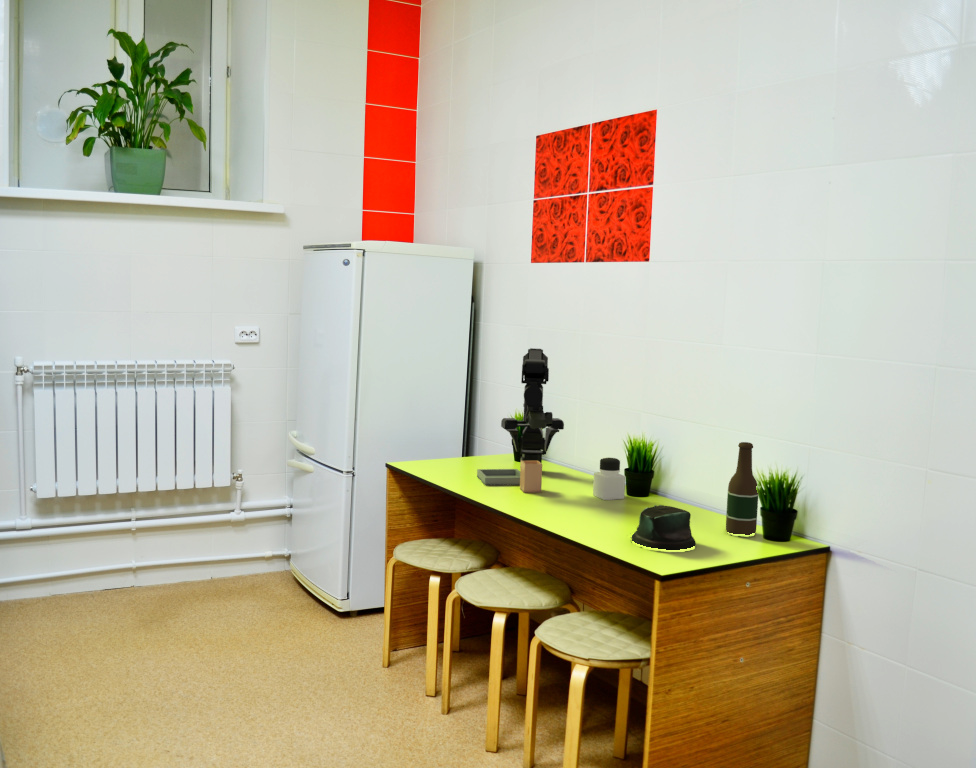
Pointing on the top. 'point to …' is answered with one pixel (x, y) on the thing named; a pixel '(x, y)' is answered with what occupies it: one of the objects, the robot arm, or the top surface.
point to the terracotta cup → (531, 476)
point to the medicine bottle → (609, 480)
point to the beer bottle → (742, 495)
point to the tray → (499, 476)
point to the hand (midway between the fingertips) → (531, 451)
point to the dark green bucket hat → (664, 528)
